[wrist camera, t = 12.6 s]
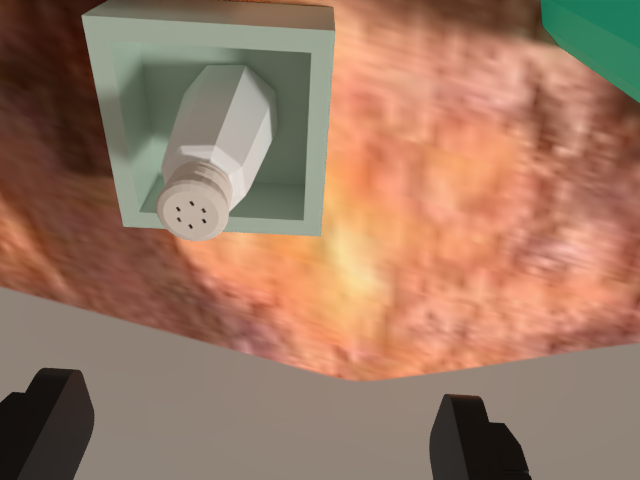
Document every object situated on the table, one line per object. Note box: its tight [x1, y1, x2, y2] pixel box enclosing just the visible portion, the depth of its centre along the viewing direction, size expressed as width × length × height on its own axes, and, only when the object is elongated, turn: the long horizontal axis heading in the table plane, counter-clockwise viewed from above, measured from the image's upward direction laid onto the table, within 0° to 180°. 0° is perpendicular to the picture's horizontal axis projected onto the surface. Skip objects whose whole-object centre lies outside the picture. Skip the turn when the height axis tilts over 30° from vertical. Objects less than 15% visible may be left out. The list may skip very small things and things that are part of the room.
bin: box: [81, 0, 335, 236], centre depth 27 cm, size 11×11×5 cm
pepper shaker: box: [156, 65, 278, 241], centre depth 24 cm, size 5×5×11 cm
